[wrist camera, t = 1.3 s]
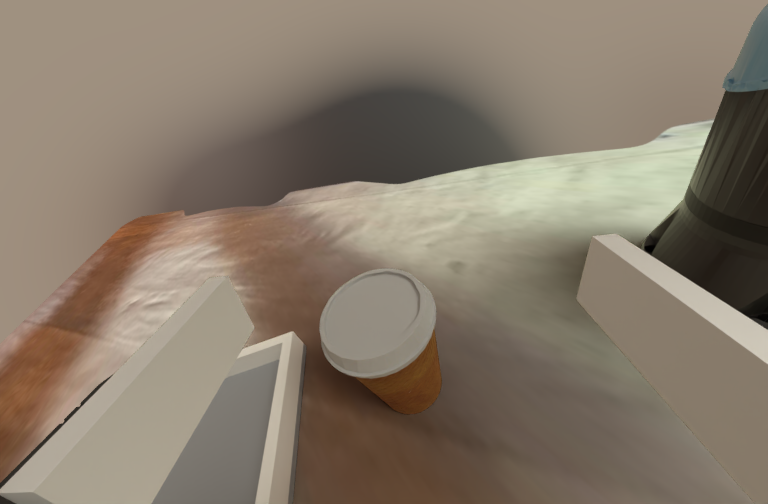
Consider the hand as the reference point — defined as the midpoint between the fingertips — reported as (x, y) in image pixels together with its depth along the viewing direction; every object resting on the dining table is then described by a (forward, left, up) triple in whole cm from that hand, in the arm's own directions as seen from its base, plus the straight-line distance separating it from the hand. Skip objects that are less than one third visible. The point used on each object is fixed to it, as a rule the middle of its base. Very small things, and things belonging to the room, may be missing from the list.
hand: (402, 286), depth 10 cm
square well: (+24, -7, -20) cm, 32 cm away
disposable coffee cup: (+3, -7, -20) cm, 22 cm away
